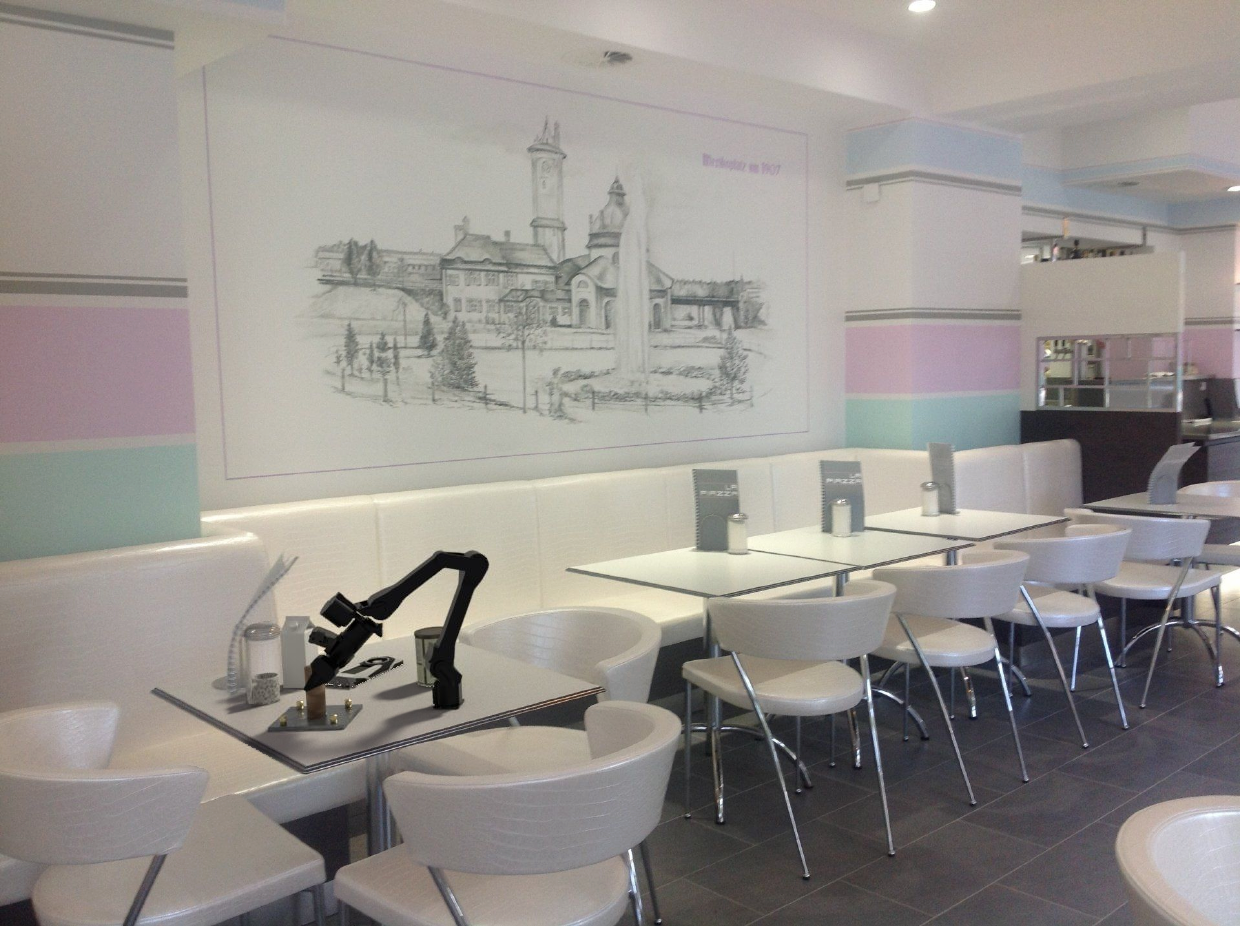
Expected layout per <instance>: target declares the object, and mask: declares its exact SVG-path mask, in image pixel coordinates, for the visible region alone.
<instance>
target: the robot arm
mask: <svg viewBox="0 0 1240 926" xmlns="http://www.w3.org/2000/svg"><path fill="white" fill-rule="evenodd" d="M489 568H490V562H489V560H488V557H487V556H486V555H484V554H482V553H481V552H479V551H478V550H473V549H472V550H468V551H466V552H458V551H444V550H441V549H440V550H436V551H435V552H433V554H432V555H431V556H430V557H428V558H427V559H426V560H424V561H423V562H422V563H420V564H419V565H418V566H416V567H415V568H414V569H412V570H411V571H410V572H409V573H407V574H406V575H405V576H403V577H402V578H401V579H400V580H398V581H397V582H395V583H394V584H392V585H389V586H387V587H385V588H382V589H380V590H378V591H376V592H375V593H373V594H371V595H369V597H368V598H367V599H364V600H360V601H357V602H355V603H353V602H352V601H351V600H350V599H348V598H347V597H345V595H344V594H343V593H341V592H340V591H338V592H336V594H334V595H333V596H332V597H331V598H330V599H329V600H327V601H326V602H325V603H324V605H323V606H322V608H321V609H320V611H319V615H320V616H321V617H323V618H324V619H326V620H327V621H328V622H329V623H331V624H332V625H334V626H335V627H337V628H338V629H340V628H341V627H342V628H345V629H343V631H341V632H340V633H339V634H337V633H335V632H334V631H332V630H329V629H327V628H325V627H322V626H319V625H315V626H316V627H315V628H314V629H313V630H312V632H311V634H310V635H309V640H308V642H309V643H311V644H315V645H318V647H320V648H323V653H325V654H318V656H317V657H316V658H315V659H314V660H313V661H312V663H311V664H310V665H311V668H312V674H311V676H310V677H309V679H308V681H307V683H306V685H305V686H304V688H302V690H303V691H304V692H305V693H306V692H308V691H310V690H312V689H314V688H316V687H318V686H321V685H323V684H325V683H326V684H327V682H330V681H331V680H332V679H333V678H334V677H335V676H336V675H337V674H338V673H339V672H340V671H341V669H345V667H346V666H348V664H349V663H350V662H351V661H352V660H353V659H354V658H355V655H356V654H357V652H358V651H359V650H361V648H362V647H363V646H364V645H365V644H366V643H367V641H368V640H369V639H370V638H371V637H372V636H373V635H374V634H375V635H376V636H377V637H378V638H383V636H384V635H383V634H384V633H383V632H384V630H383V627H384V623H383V622H376V621H386V620H387V619H389V618H390V617H391V616H392V615H393V614H394V613H395V612H396V611H397V610H398V609H399V607H400V606H401V604H403V602H404V600H405V599H406V598H407V597H409V596H410V595H411V594H412V593H414V592H415V591H416V590H418V589H419V588H421V586H422V585H424V584H425V583H427V582H428V581H429V580H430V579H432V578H433V577H435V576H436V575H437V574H438V573H439V572H441V571H442V570H444V569H450V570H455V571H458V578H457V579H458V582H457V586H456V589H455V591H454V594H453V598H452V600H451V603H450V607H449V609H448V611H447V614H446V617H445V620H444V622H443V625H442V626H443V628H442V631H441V634H440V636H439V638H438V640H437V641H436V642H435V643H434V644H433V643H431V642H429V644H428V649H427V652H426V654H425V655H424V656H423V657H424V658H425V666H426V668H427V670H428V671H429V672H430V674H431V675H432V676H433V677H435V678H436V679H437V680H436V681H435V682H434V687H431V688H432V689H431V693H432V695H431V697H432V704H433V706H432V709H434V710H439V709H440V710H441V709H443V710H447V709H448V710H449V709H459V708H460V707H461V706H462V705H463V703H464V702H465V698H463V685H462V681H463V680H462V679H463V674H462V672H460V671H459V670H458V669H457V668H456V666H455V658H456V644H457V640H458V637H459V635H460V633H461V629H462V626H463V623H464V620H465V618H466V616H467V612H468V609H469V606H470V604H471V601H472V598H473V596H474V592H475V590H476V589H477V587H478V586H479V585H480V583H482V581H483V579H484V577H485V576H486V574H487V572H488V570H489ZM372 618H373V619H374V620H376V621H374V620H373V619H372ZM453 664H454V666H453ZM446 708H447V709H446Z"/></svg>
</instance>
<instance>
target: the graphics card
mask: <svg viewBox="0 0 1240 926" xmlns="http://www.w3.org/2000/svg"><path fill="white" fill-rule="evenodd" d="M401 664H404V660H403V658H402V657H401V656H399V655H396V656H394V655H382V654H381V655H380V654H378V655H376V656H372V657H370V658H368V659H366V660H363V661H362V662H359V663H357V664H354V665H352V666H350V667H347V668H343V670H339V673H338V674H337V675H336V676H335V677H334V678H333V679H332V680H331V681H330V682H327V683H325V684H328V683H329V684H333V686H334V685H340V684H341V686H340V687H344V686H346V687H347V686H350V687H349V688H351V687H352V686H353V687H356V688H357V686H359V685H358V684H360V683H362V682H364V683H366V682H368V681H367V680H369V679H371V680H373V679H374V678H373V677H375V678H377V677H376V676H378V675H380V674H382V673H384V674H386V673H388V672H390V671H389V670H391V671H393V670H394V669H393V668H395V669H397V668H398V667H397V666H399V667H401V666H402V665H401ZM400 665H401V666H400ZM396 667H397V668H396ZM392 669H393V670H392ZM387 671H388V672H387ZM385 672H386V673H385ZM382 675H383V674H382ZM380 676H381V675H380ZM378 677H379V676H378ZM372 678H373V679H372ZM365 681H366V682H365ZM369 681H370V680H369ZM362 684H363V683H362ZM356 685H357V686H356ZM360 685H361V684H360Z"/></svg>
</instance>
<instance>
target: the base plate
mask: <svg viewBox="0 0 1240 926" xmlns="http://www.w3.org/2000/svg"><path fill="white" fill-rule="evenodd" d="M362 709H363V703H359V704H358V703H357V704H352V698H346V699H344V704H331V705H329V704H326V716H324V717H320V718H308V717H307V706H306V705H305V706H304V700H297V701H296V705H295V706H293V705H292V706H290V707H288V709H286V710H285V711H284V712H283V713H282V714H281V715H280V716H279V717H278V718H277V719H276V720H274V721H273V722H272V723H271V724H269V726H268V727H267V730H268V733H269V732H291V731H292V732H295V731H323V730H329V731H330V730H345V729H346V728H347V727H348V725H349V724H350V723H351V722H352V721H353V720H354V719H355V718H356V716H358V714H359V713H360V712H361V711H362Z"/></svg>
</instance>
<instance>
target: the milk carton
mask: <svg viewBox="0 0 1240 926" xmlns="http://www.w3.org/2000/svg"><path fill="white" fill-rule="evenodd" d="M284 618H285V620H284V623H283V625H282V628H281V630H280V632H281V634H280V633H279V639H280V655H281V669H282V686H283V688H284V689H303V688H304V686H305V673H304V667H305V666H308V665H310V664H311V663H312V661H313V660H314V659H315V658H316V657H317V656H319V646H318V645H315V644H311V643H309V642H308V640H309V635H310V634H311V632H312V630H313V629H314V628H315V627H316V626H317V625H315V624H314V623H313V622H312V620H311V616H310V615H285V617H284Z"/></svg>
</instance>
